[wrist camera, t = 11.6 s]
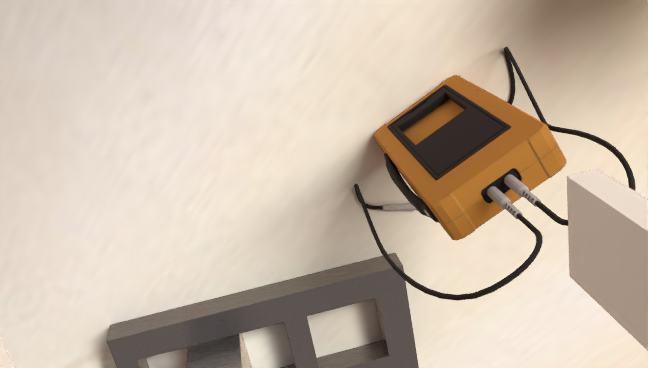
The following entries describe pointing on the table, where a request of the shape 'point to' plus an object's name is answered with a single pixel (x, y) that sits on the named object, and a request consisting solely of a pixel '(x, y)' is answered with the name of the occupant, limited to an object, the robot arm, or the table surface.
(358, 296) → the grey flat frame
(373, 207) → the multimeter
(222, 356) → the grey tall block
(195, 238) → the table surface
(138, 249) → the table surface
